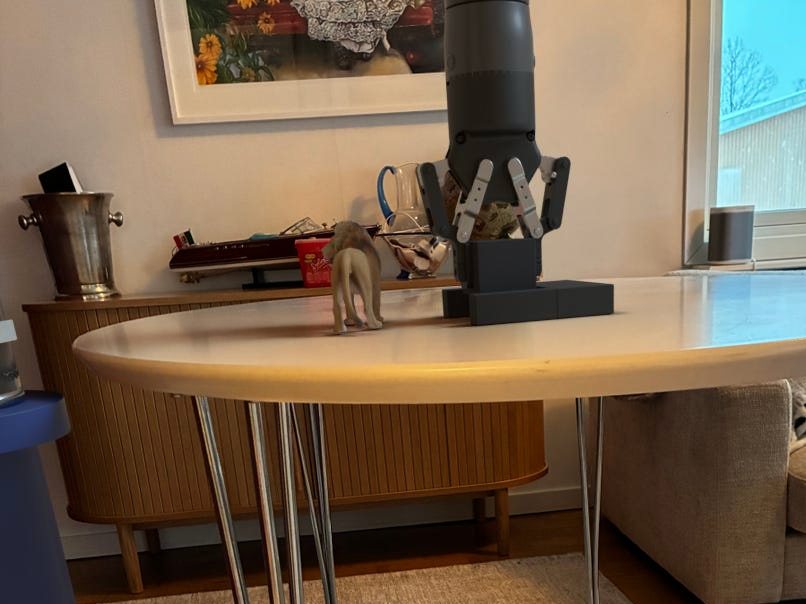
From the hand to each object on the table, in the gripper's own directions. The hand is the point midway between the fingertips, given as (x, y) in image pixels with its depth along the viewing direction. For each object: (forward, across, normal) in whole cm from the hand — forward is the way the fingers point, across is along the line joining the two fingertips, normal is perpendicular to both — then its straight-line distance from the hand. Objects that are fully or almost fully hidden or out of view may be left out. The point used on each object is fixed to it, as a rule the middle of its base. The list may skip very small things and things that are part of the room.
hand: (498, 284), depth 88 cm
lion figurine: (+3, +13, -3) cm, 14 cm away
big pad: (+3, -3, 0) cm, 4 cm away
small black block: (+1, 0, 0) cm, 1 cm away
